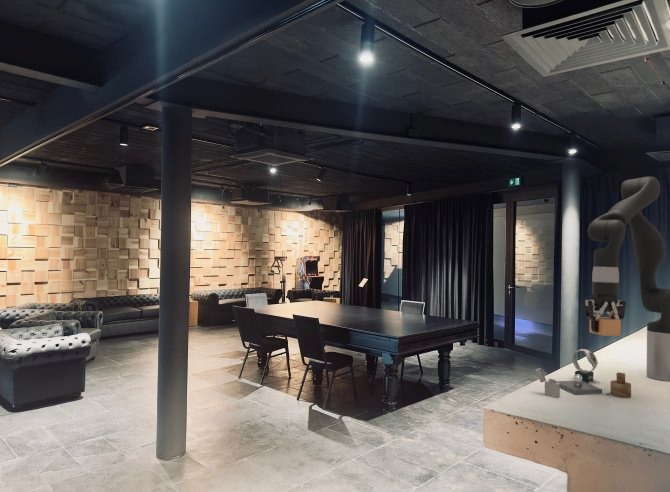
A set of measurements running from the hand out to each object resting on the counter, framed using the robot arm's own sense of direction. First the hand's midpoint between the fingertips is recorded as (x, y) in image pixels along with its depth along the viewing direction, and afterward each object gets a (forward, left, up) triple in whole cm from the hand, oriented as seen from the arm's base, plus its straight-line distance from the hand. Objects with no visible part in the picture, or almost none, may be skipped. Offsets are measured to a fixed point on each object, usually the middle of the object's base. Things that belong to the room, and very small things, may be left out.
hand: (604, 331), depth 149 cm
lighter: (+20, -1, -20) cm, 28 cm away
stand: (-4, +2, -20) cm, 21 cm away
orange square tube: (0, 0, -1) cm, 1 cm away
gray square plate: (+6, -5, -20) cm, 21 cm away
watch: (-4, -15, -20) cm, 25 cm away
